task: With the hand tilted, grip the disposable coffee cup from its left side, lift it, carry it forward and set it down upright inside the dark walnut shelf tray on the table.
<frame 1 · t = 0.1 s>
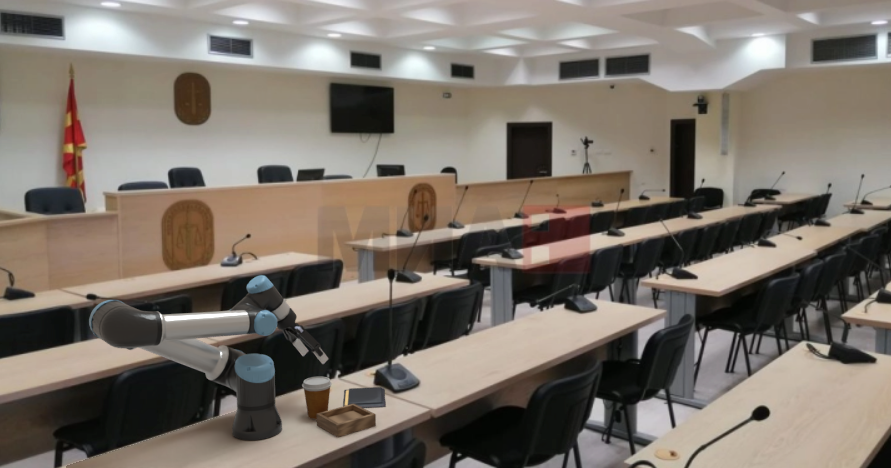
hand: (315, 357, 253), 15 cm above the table, tool tilted 35°, fingers open, 13 cm apart
wallet: (364, 400, 255), on the table
shelf tray: (346, 425, 230), on the table
disposable coffee cup: (317, 416, 239), on the table
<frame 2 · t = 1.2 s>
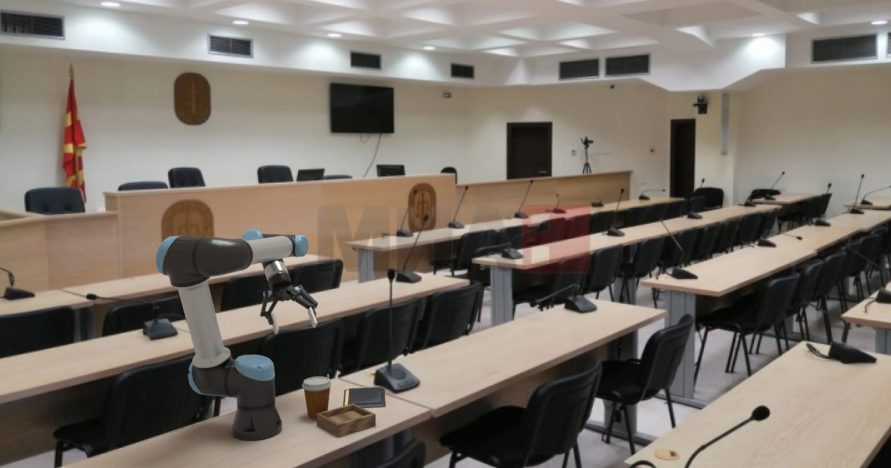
hand: (296, 328, 242), 28 cm above the table, tool tilted 45°, fingers open, 13 cm apart
nothing on the table moved.
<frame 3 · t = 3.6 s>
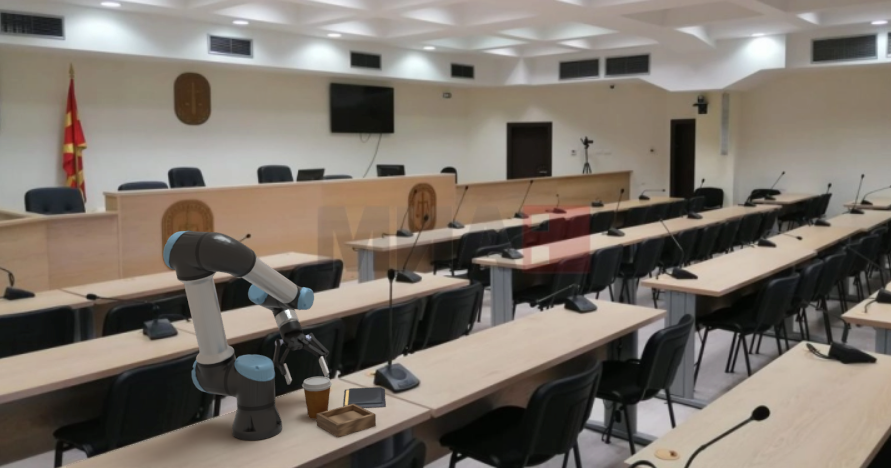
hand: (308, 378, 243), 11 cm above the table, tool tilted 45°, fingers open, 13 cm apart
nothing on the table moved.
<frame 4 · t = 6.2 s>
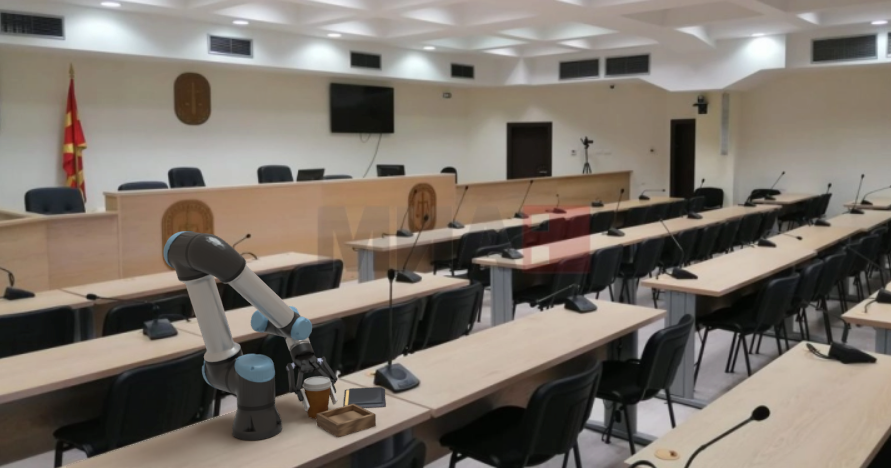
hand: (321, 405, 236), 4 cm above the table, tool tilted 45°, fingers closed on disposable coffee cup, 9 cm apart
disposable coffee cup: (317, 416, 239), on the table, touching gripper
everything else where it was.
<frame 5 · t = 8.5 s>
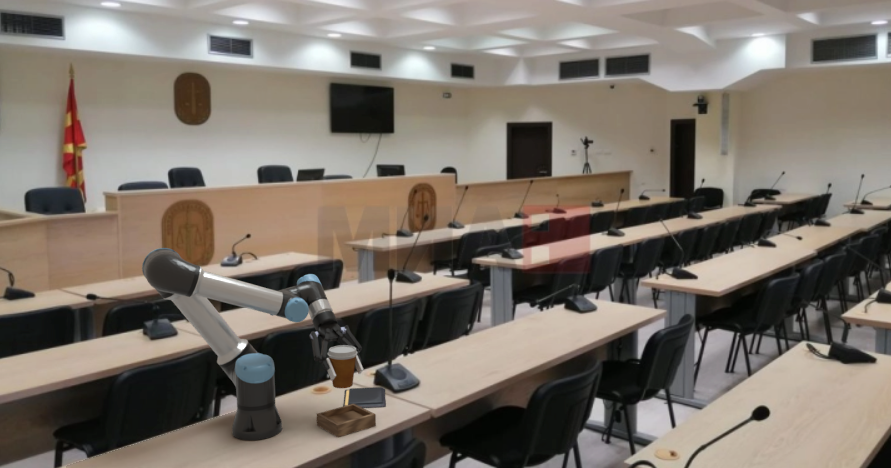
hand: (347, 374, 229), 16 cm above the table, tool tilted 45°, fingers closed on disposable coffee cup, 9 cm apart
disposable coffee cup: (342, 385, 232), point 12 cm above the table, touching gripper
everything else where it was.
when the fingers open (8 cm above the table, at t = 10.9 s): disposable coffee cup drops 1 cm, resting on shelf tray.
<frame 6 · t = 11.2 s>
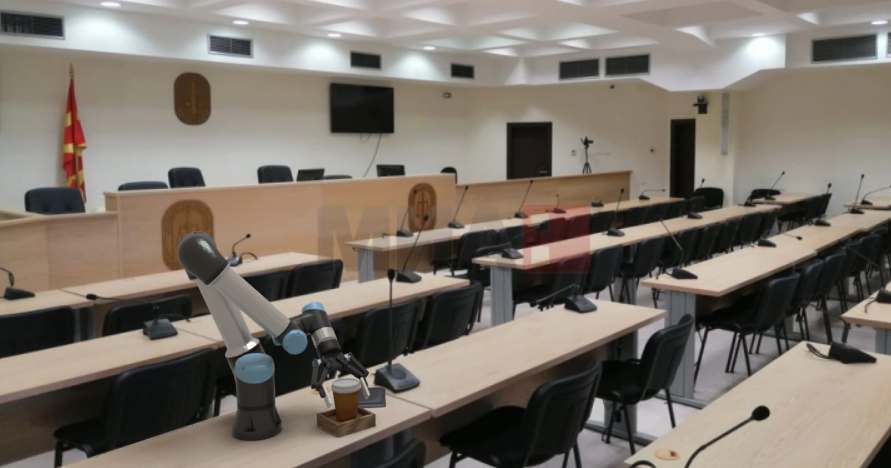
hand: (349, 401, 227), 9 cm above the table, tool tilted 45°, fingers open, 13 cm apart
disposable coffee cup: (346, 419, 230), point 2 cm above the table, touching shelf tray
everything else where it was.
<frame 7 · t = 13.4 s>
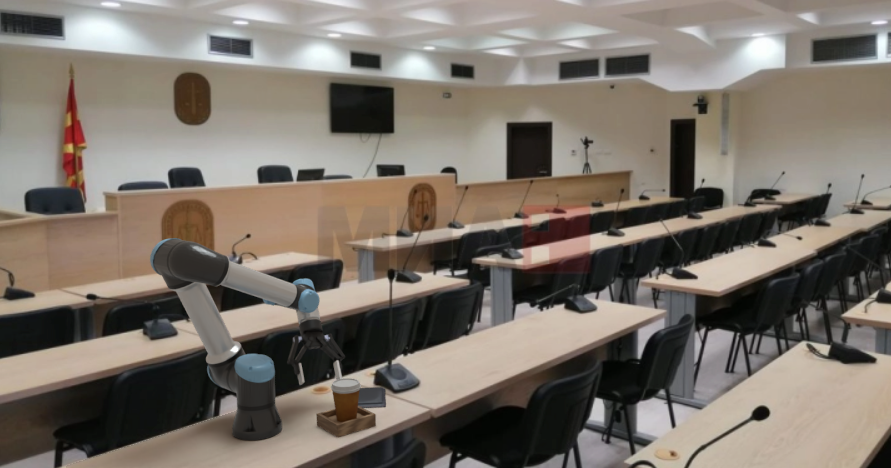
hand: (321, 381, 238), 11 cm above the table, tool tilted 35°, fingers open, 13 cm apart
nothing on the table moved.
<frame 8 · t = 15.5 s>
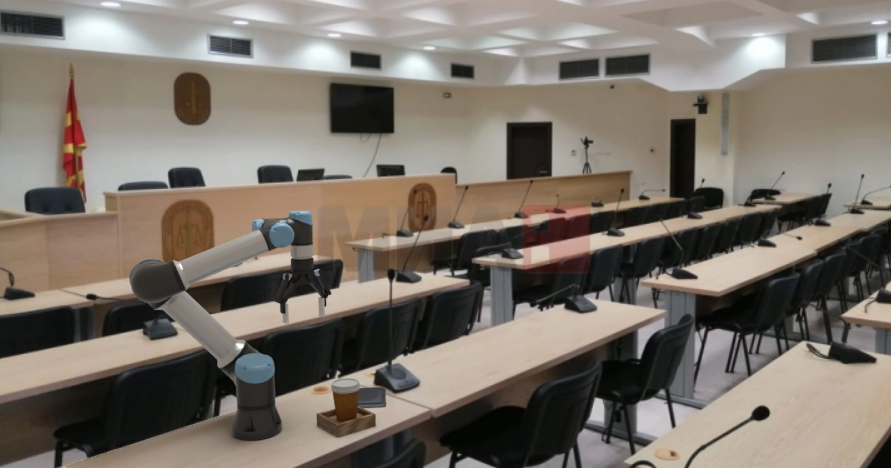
hand: (304, 319, 243), 31 cm above the table, tool pointing down, fingers open, 13 cm apart
nothing on the table moved.
at the end: disposable coffee cup 0.4 cm from the shelf tray (horizontally); disposable coffee cup tilted 0°; the gripper is holding nothing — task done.
